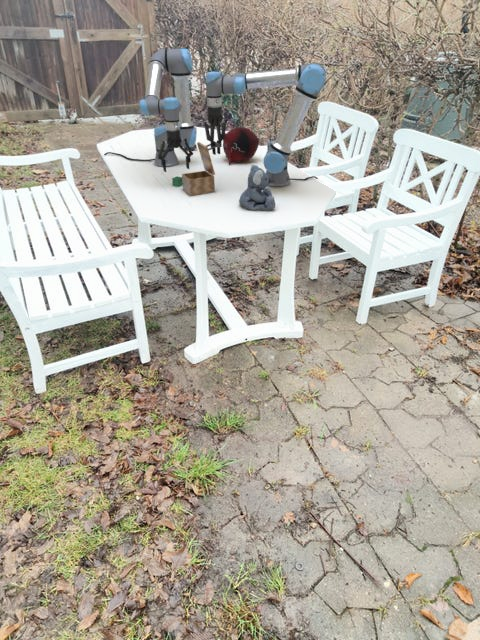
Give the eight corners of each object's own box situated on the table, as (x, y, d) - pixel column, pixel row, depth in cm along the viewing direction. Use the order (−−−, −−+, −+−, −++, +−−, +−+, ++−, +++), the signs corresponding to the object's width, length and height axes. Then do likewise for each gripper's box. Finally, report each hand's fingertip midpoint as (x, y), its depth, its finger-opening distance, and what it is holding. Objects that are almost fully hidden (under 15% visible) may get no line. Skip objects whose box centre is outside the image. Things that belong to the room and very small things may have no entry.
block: (178, 186, 255) (177, 179, 253) (172, 185, 257) (172, 178, 255) (183, 184, 258) (182, 177, 256) (177, 183, 260) (176, 176, 258)
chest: (190, 196, 242) (189, 180, 238) (183, 189, 251) (181, 174, 246) (214, 192, 248) (214, 176, 243) (206, 185, 256) (205, 170, 252)
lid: (205, 147, 232) (221, 141, 234) (196, 142, 241) (212, 136, 243) (213, 175, 242) (228, 168, 244) (204, 169, 251) (219, 163, 253)
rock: (192, 148, 330) (179, 150, 326) (190, 136, 327) (178, 137, 323) (198, 149, 321) (185, 151, 317) (197, 136, 317) (184, 137, 313)
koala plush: (276, 211, 223) (277, 171, 212) (240, 212, 222) (240, 172, 211) (271, 199, 237) (272, 161, 226) (237, 200, 236) (237, 162, 225)
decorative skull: (219, 133, 304) (219, 130, 280) (253, 125, 303) (256, 122, 279) (226, 165, 310) (227, 165, 287) (260, 158, 310) (263, 157, 286)
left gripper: (152, 133, 234) (157, 174, 245) (197, 128, 243) (199, 168, 254) (148, 130, 239) (153, 171, 251) (192, 126, 248) (194, 165, 260)
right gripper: (203, 108, 224) (206, 157, 237) (231, 106, 230) (232, 153, 243) (198, 106, 230) (200, 154, 243) (225, 104, 235) (226, 150, 248)
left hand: (176, 170), depth 253 cm, fingers open, 13 cm apart
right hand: (216, 153), depth 243 cm, fingers closed on lid, 2 cm apart
